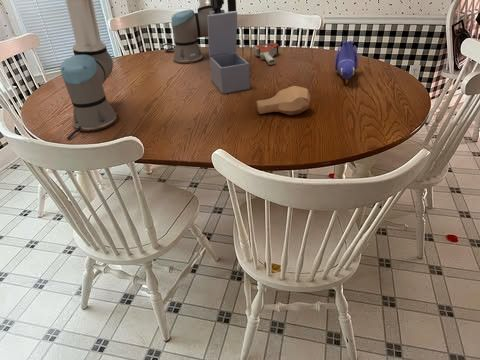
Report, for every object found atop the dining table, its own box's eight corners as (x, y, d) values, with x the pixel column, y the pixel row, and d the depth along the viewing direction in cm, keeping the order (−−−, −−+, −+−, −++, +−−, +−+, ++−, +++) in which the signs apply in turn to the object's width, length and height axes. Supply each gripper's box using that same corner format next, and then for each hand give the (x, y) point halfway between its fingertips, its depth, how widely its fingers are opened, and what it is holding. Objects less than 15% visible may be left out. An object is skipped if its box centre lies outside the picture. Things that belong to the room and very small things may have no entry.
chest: (250, 88, 152) (249, 63, 146) (222, 93, 149) (220, 68, 143) (237, 76, 165) (235, 52, 159) (211, 80, 162) (209, 56, 156)
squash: (314, 116, 128) (313, 95, 122) (259, 125, 130) (256, 105, 124) (308, 99, 136) (307, 78, 129) (257, 108, 138) (253, 88, 131)
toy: (333, 77, 168) (334, 87, 145) (335, 39, 161) (336, 43, 139) (355, 77, 166) (359, 86, 143) (358, 38, 159) (363, 42, 137)
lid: (237, 12, 145) (230, 3, 150) (208, 16, 142) (202, 6, 147) (236, 51, 158) (229, 42, 163) (209, 56, 155) (203, 46, 160)
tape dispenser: (271, 69, 174) (289, 54, 187) (272, 58, 171) (290, 44, 183) (241, 62, 182) (260, 49, 194) (241, 52, 178) (260, 39, 191)
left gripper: (246, -66, 103) (248, 13, 116) (221, -67, 122) (225, 1, 135) (222, -65, 101) (226, 15, 114) (200, -66, 121) (206, 3, 133)
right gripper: (227, -39, 134) (231, 27, 148) (216, -42, 146) (221, 20, 160) (208, -37, 132) (214, 29, 146) (198, -40, 144) (205, 22, 158)
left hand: (225, 7), depth 124 cm, fingers open, 13 cm apart
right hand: (217, 24), depth 153 cm, fingers closed on lid, 2 cm apart
